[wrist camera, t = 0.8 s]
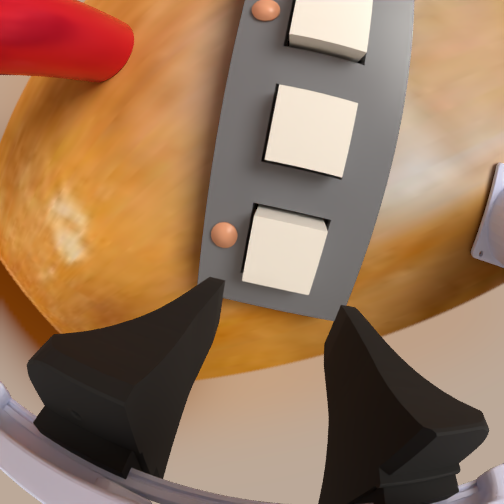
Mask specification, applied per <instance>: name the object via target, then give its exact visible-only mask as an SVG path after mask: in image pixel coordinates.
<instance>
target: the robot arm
mask: <svg viewBox="0 0 504 504" xmlns="http://www.w3.org/2000/svg"><path fill="white" fill-rule="evenodd" d="M480 251H481V253H480ZM479 253H480V254H479ZM471 255H472V256H473V257H474V258H476V259H479V260H482V261H485V262H488V263H491V264H494V265H497V266H499V267H502V268H504V164H503V163H498V164H497V166H496V170H495V174H494V179H493V183H492V187H491V191H490V194H489V198H488V202H487V205H486V208H485V212H484V215H483V218H482V221H481V224H480V227H479V230H478V233H477V236H476V239H475V241H474V244H473V247H472V249H471ZM224 286H225V280H222V279H218V278H213V277H209V278H207V279H205V280H204V281H203V282H201V283H200V284H198V285H197V286H195V287H194V288H192V289H191V290H190V291H188V292H186V293H185V294H183V295H182V296H180V297H179V298H177V299H175V300H174V301H172V302H170V303H168V304H167V305H165V306H163V307H161V308H159V309H157V310H155V311H153V312H151V313H148V314H146V315H143V316H141V317H138V318H136V319H133V320H130V321H126V322H123V323H120V324H117V325H114V326H110V327H105V328H101V329H96V330H91V331H84V332H76V333H66V334H54V335H53V336H52V337H50V339H49V340H48V341H47V342H46V343H45V344H44V345H43V346H42V347H41V348H40V349H39V350H38V351H37V352H36V353H35V355H34V356H33V357H32V358H31V359H30V360H29V362H28V364H27V369H28V374H29V377H30V380H31V382H32V384H33V386H34V388H35V389H36V391H37V393H38V395H39V397H40V398H41V400H42V402H43V403H44V405H45V406H44V408H43V409H42V410H41V412H40V413H39V415H38V416H35V415H34V414H33V413H31V412H30V411H28V410H27V409H26V408H24V407H23V406H22V405H20V404H19V403H17V402H16V401H15V400H14V399H12V398H11V395H10V393H9V392H8V390H7V388H6V387H5V386H4V384H3V383H2V382H1V381H0V469H1V470H2V471H3V472H4V473H5V474H6V475H8V476H9V477H10V478H11V479H12V480H13V481H15V482H16V483H17V484H18V485H19V486H20V487H22V488H23V489H24V490H25V491H27V492H28V493H29V494H31V495H32V496H33V497H34V498H36V499H37V500H39V501H40V502H41V503H43V504H152V503H151V501H154V502H157V503H160V504H280V503H270V502H261V501H254V500H247V499H240V498H235V497H229V496H224V495H219V494H214V493H210V492H206V491H201V490H198V489H194V488H190V487H187V486H183V485H180V484H177V483H173V482H170V481H167V480H164V479H163V477H164V473H165V469H166V466H167V462H168V459H169V455H170V452H171V448H172V445H173V442H174V438H175V435H176V432H177V429H178V426H179V422H180V419H181V416H182V413H183V410H184V407H185V404H186V401H187V398H188V395H189V393H190V390H191V388H192V385H193V383H194V381H195V379H196V377H197V375H198V373H199V371H200V368H201V366H202V364H203V362H204V360H205V358H206V356H207V354H208V351H209V349H210V347H211V345H212V343H213V340H214V337H215V334H216V330H217V327H218V324H219V319H220V313H221V306H222V299H223V292H224ZM324 371H325V381H326V390H327V401H328V412H329V428H328V444H327V455H326V464H325V471H324V478H323V483H322V489H321V494H320V498H319V503H318V504H504V463H502V464H500V465H498V466H495V467H493V468H491V469H489V470H488V471H486V472H485V473H483V474H482V475H481V476H479V477H478V478H477V479H476V480H473V481H471V482H468V483H465V484H462V485H458V484H457V479H456V475H455V474H458V473H459V472H460V466H459V463H460V462H461V461H462V460H463V459H465V458H466V457H467V456H468V455H469V454H471V453H472V452H473V451H474V450H475V449H477V447H478V446H480V445H481V444H482V443H483V441H484V440H485V439H486V437H487V435H488V432H489V428H488V425H487V423H486V420H485V418H484V415H483V413H482V412H481V411H480V410H478V409H475V408H473V407H471V406H469V405H467V404H465V403H463V402H460V401H458V400H457V399H455V398H453V397H452V396H450V395H448V394H446V393H445V392H443V391H442V390H440V389H439V388H437V387H436V386H434V385H433V384H432V383H430V382H429V381H427V380H426V379H425V378H423V377H422V376H421V375H420V374H418V373H417V372H416V371H415V370H413V368H411V367H410V366H409V365H408V364H407V363H406V362H405V361H404V360H403V359H401V357H400V356H398V354H397V353H396V352H395V351H394V350H393V349H392V348H391V347H390V346H389V345H388V344H387V343H386V342H385V341H384V339H383V338H382V337H381V336H380V335H379V334H378V333H377V331H376V330H375V329H374V328H373V327H372V326H371V324H370V323H369V322H368V321H367V320H366V319H365V317H364V316H363V315H362V314H361V313H360V312H359V311H358V310H357V309H356V308H355V307H350V306H345V305H341V306H340V308H339V311H338V313H337V316H336V318H335V321H334V323H333V325H332V328H331V330H330V332H329V335H328V337H327V339H326V342H325V345H324ZM145 498H146V499H145ZM150 500H151V501H150Z"/></svg>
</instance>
